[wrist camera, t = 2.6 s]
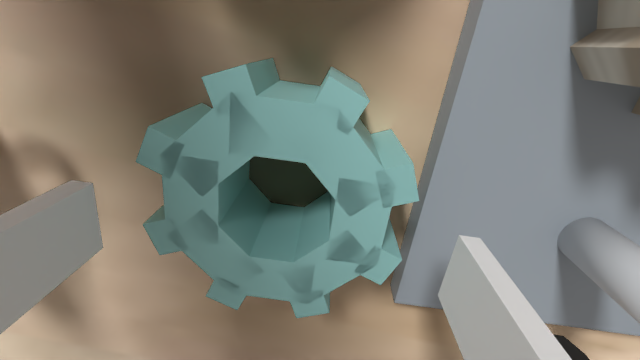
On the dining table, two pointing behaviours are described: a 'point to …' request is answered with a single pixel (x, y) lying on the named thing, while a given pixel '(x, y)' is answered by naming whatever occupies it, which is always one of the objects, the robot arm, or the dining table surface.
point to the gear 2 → (612, 46)
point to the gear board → (532, 170)
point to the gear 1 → (252, 205)
